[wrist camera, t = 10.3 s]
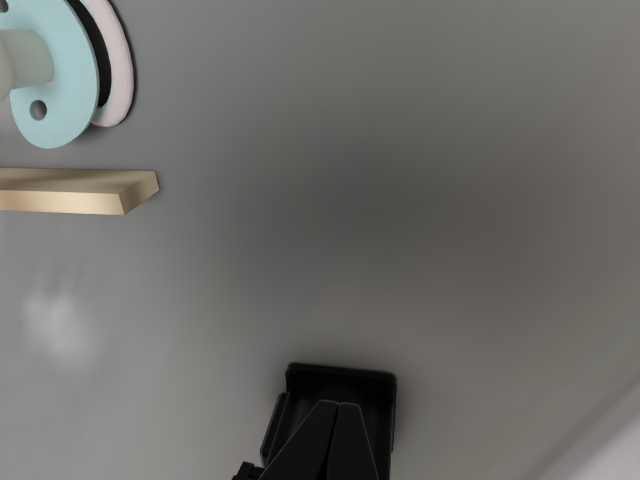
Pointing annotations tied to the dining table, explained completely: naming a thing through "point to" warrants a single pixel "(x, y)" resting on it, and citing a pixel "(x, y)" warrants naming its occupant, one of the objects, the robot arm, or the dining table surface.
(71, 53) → the pacifier
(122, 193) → the box
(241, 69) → the dining table surface
